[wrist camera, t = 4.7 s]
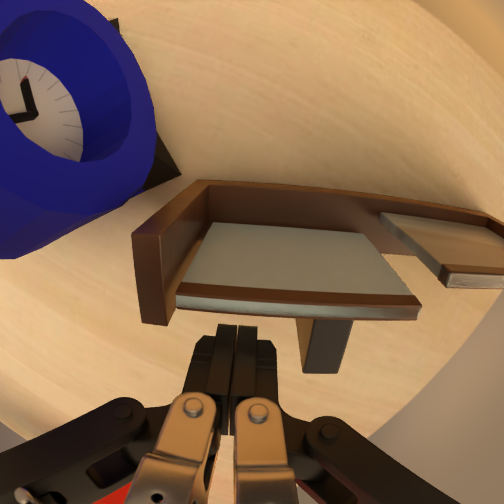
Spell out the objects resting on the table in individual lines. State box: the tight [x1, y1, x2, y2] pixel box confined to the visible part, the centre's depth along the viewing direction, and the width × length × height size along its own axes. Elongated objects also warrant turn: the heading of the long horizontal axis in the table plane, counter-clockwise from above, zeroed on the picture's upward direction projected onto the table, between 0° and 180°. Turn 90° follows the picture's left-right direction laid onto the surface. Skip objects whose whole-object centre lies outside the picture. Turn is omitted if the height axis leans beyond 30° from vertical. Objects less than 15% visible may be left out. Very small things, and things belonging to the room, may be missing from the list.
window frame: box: [131, 180, 504, 326], centre depth 14 cm, size 3×21×10 cm, turn 87°
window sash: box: [175, 222, 422, 374], centre depth 14 cm, size 4×9×8 cm, turn 87°
